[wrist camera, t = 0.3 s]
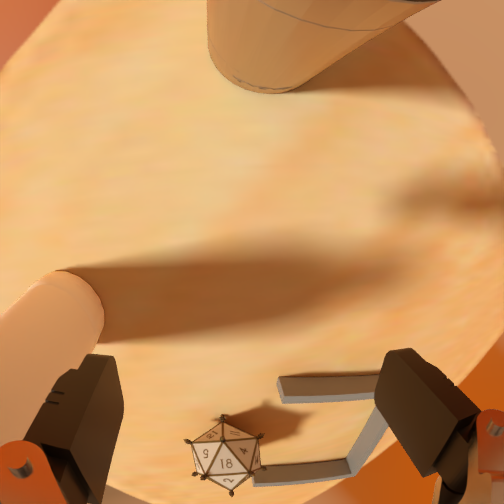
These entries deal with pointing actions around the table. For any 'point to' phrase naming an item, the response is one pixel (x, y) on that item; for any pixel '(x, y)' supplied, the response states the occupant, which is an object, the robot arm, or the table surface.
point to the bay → (319, 393)
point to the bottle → (43, 345)
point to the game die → (226, 455)
